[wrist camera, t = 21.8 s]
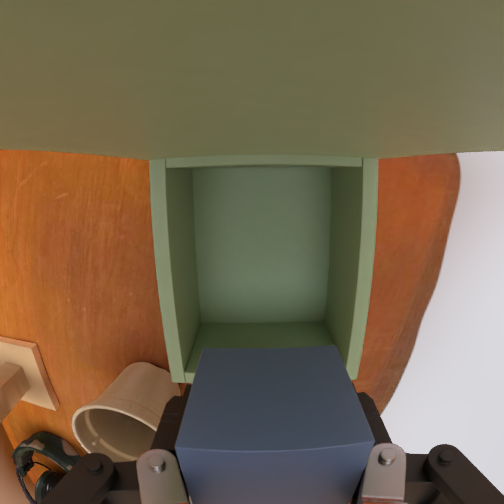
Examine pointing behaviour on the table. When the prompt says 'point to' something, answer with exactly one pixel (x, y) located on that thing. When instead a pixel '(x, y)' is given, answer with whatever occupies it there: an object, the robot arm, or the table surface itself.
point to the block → (272, 428)
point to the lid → (252, 77)
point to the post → (23, 377)
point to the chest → (263, 253)
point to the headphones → (49, 479)
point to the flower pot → (125, 413)
